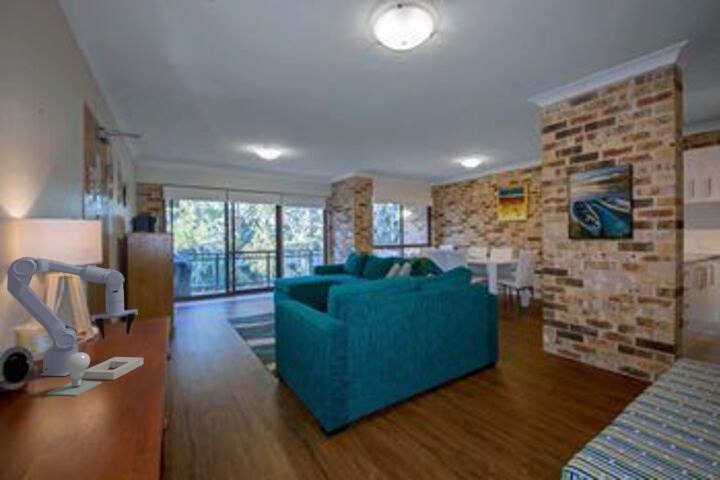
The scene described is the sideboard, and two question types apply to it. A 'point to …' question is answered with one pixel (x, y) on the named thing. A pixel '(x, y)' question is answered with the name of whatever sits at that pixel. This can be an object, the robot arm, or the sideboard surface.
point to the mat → (74, 389)
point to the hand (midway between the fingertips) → (115, 335)
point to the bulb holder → (119, 363)
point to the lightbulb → (77, 367)
